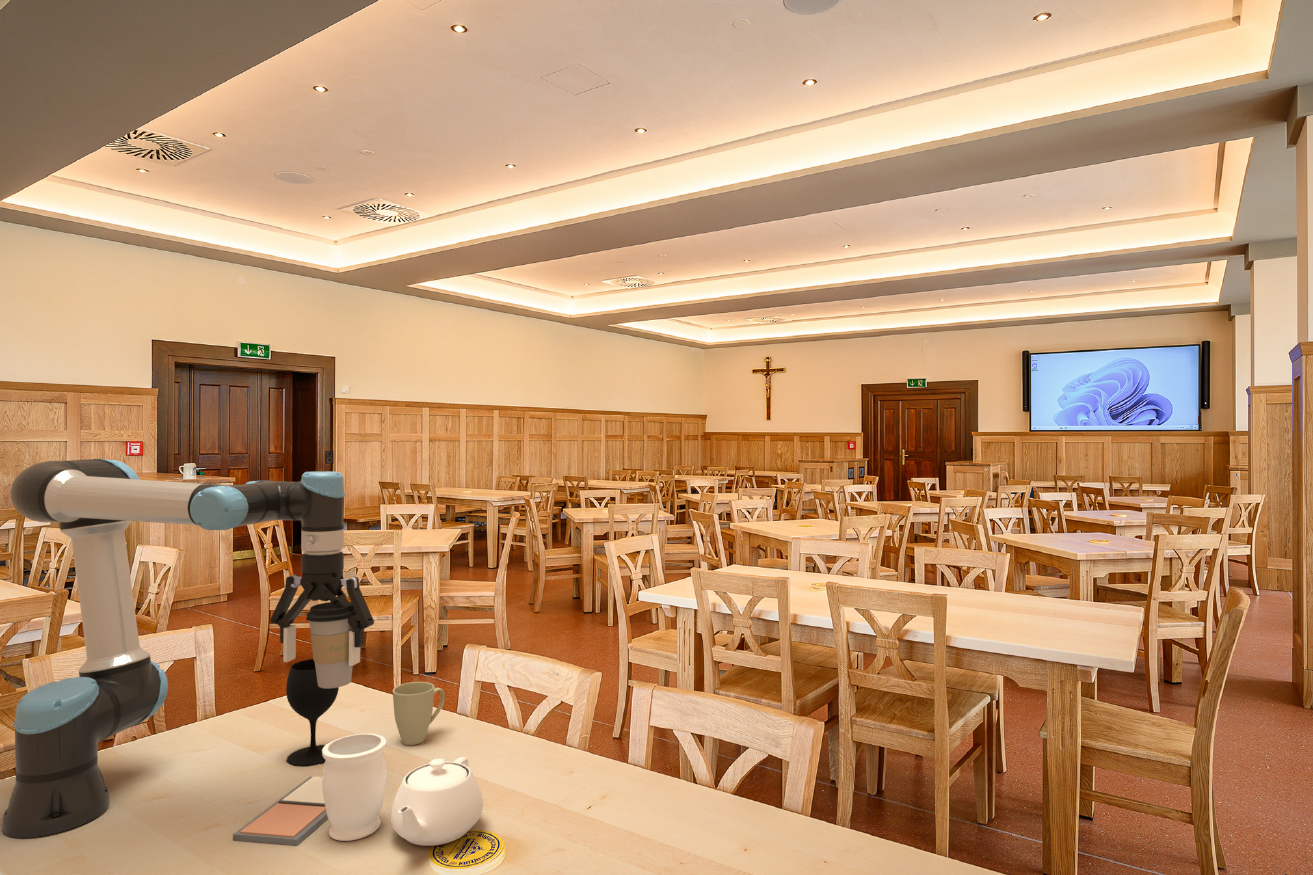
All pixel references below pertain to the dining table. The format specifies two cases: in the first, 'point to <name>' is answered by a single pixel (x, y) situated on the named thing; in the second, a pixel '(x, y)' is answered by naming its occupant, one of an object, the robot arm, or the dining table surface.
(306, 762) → the wine glass
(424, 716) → the mug
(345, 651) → the coffee cup
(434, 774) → the teapot
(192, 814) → the dining table surface
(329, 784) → the jar
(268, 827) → the makeup palette
